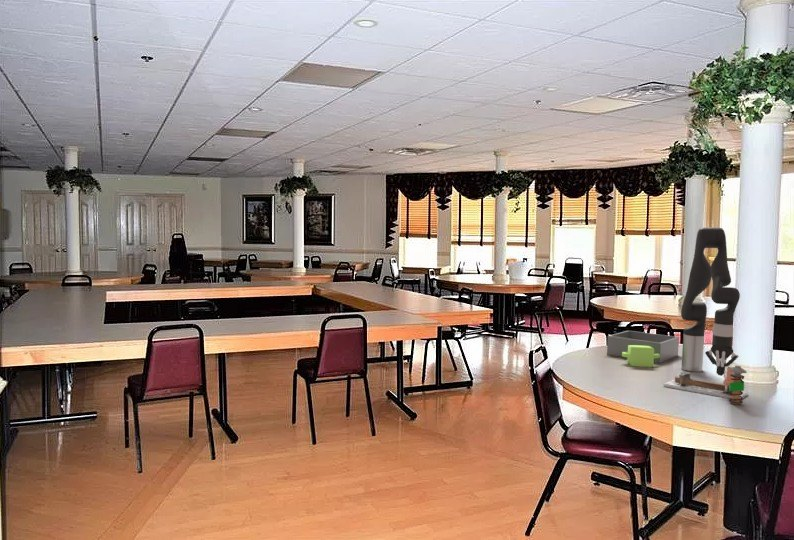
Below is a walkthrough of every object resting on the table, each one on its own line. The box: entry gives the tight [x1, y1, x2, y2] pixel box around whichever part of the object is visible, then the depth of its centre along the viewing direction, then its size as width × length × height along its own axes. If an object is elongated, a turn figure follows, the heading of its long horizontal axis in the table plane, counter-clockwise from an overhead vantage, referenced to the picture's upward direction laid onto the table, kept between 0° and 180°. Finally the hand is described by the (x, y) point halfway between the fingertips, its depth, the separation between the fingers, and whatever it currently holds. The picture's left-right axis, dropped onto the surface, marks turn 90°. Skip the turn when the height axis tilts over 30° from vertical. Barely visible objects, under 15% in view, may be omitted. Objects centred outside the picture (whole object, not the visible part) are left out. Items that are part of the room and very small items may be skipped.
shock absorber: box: [728, 365, 748, 406], centre depth 250 cm, size 6×6×15 cm
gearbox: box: [622, 345, 660, 368], centre depth 319 cm, size 18×10×10 cm, turn 84°
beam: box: [674, 371, 741, 393], centre depth 270 cm, size 8×26×4 cm, turn 48°
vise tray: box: [606, 330, 680, 364], centre depth 344 cm, size 28×28×10 cm
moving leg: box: [723, 366, 734, 392], centre depth 264 cm, size 8×3×9 cm, turn 138°
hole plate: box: [663, 378, 749, 399], centre depth 270 cm, size 12×30×1 cm, turn 48°
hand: (720, 375), depth 268 cm, fingers closed
